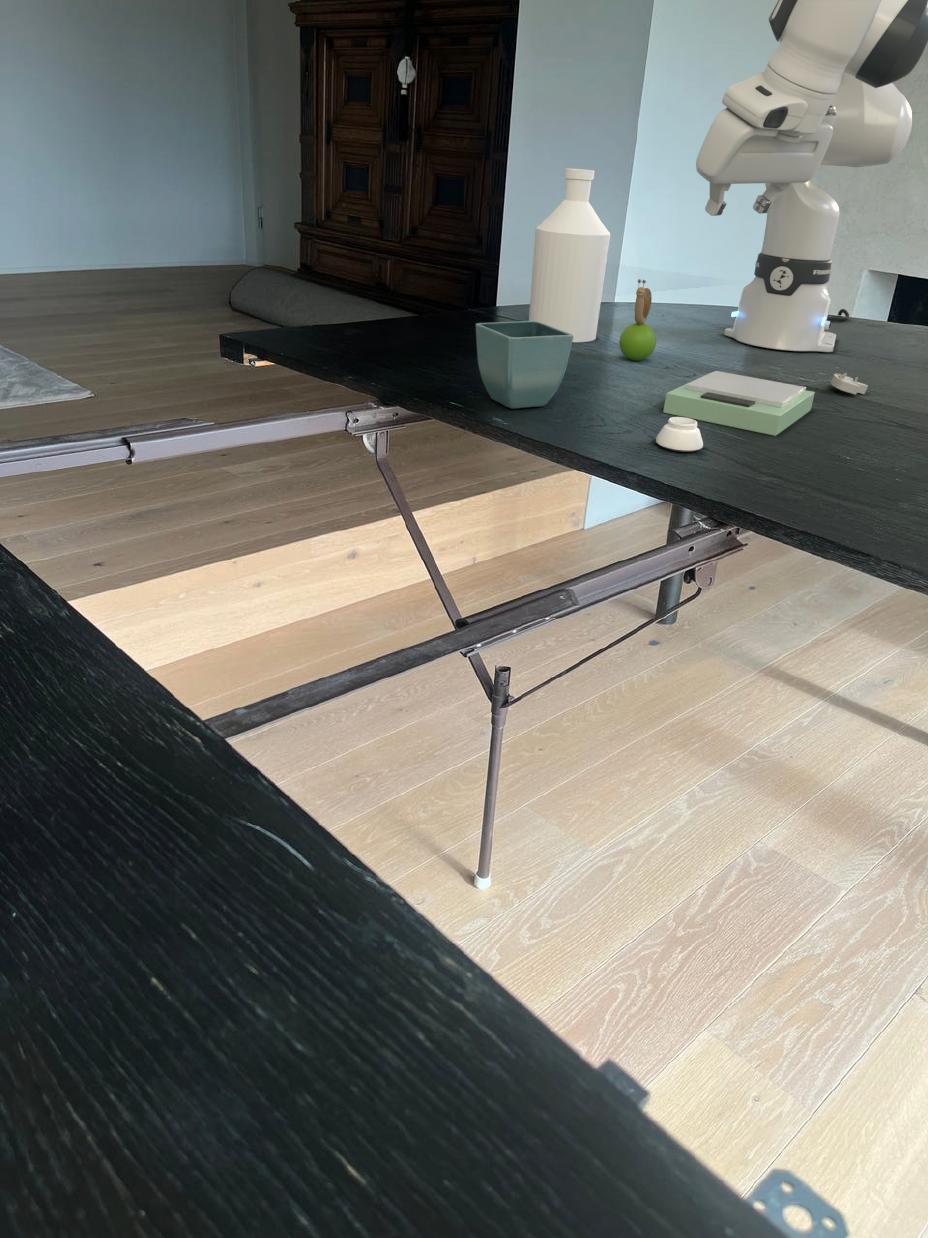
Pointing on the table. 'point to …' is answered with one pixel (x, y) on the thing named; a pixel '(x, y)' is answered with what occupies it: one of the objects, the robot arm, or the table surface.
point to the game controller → (847, 384)
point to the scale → (740, 402)
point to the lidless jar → (680, 435)
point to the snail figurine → (639, 329)
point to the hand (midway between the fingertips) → (736, 212)
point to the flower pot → (522, 361)
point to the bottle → (570, 262)
